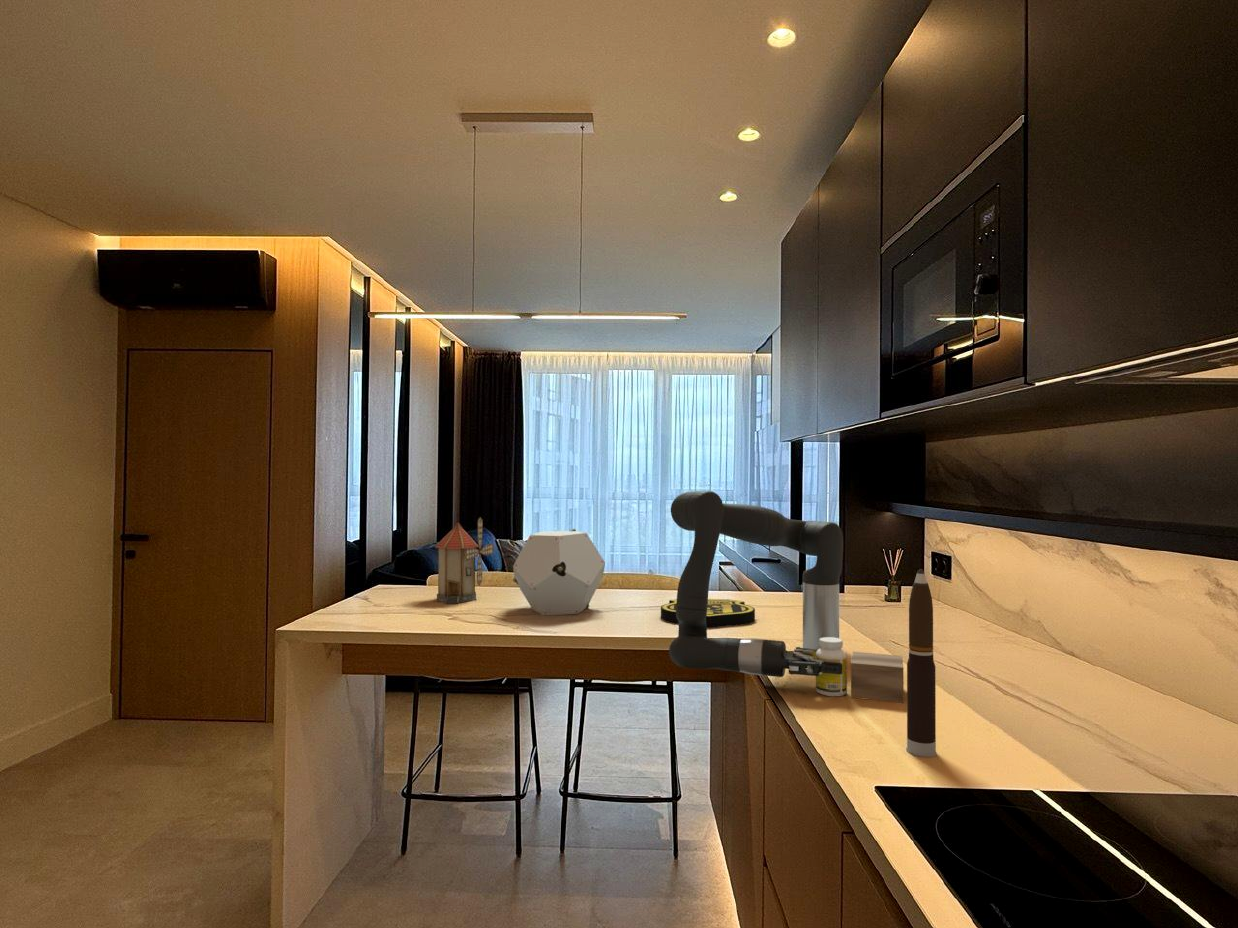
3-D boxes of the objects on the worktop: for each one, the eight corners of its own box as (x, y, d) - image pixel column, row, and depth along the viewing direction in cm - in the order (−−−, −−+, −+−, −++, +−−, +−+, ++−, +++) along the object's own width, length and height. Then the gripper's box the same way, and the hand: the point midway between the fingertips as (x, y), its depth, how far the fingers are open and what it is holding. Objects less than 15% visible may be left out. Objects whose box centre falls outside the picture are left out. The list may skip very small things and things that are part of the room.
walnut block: (852, 683, 155) (852, 651, 155) (902, 688, 151) (902, 655, 152) (850, 697, 146) (850, 662, 146) (903, 702, 142) (903, 667, 142)
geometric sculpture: (604, 627, 244) (634, 556, 232) (532, 644, 224) (560, 567, 212) (557, 574, 263) (583, 506, 251) (487, 585, 243) (511, 512, 231)
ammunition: (929, 746, 119) (929, 567, 120) (941, 757, 115) (940, 570, 115) (902, 746, 119) (901, 566, 120) (912, 756, 115) (911, 570, 115)
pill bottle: (833, 686, 153) (833, 635, 153) (853, 694, 147) (853, 641, 147) (809, 690, 150) (809, 637, 151) (829, 698, 145) (829, 643, 145)
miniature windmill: (482, 606, 244) (483, 518, 245) (425, 606, 244) (426, 518, 245) (493, 594, 269) (494, 514, 269) (441, 594, 268) (442, 514, 269)
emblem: (658, 615, 213) (662, 598, 243) (658, 627, 213) (662, 609, 243) (758, 617, 210) (750, 599, 240) (758, 630, 210) (750, 611, 240)
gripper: (756, 647, 147) (841, 654, 141) (767, 632, 161) (844, 638, 155) (756, 683, 147) (841, 692, 141) (767, 666, 161) (845, 673, 155)
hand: (842, 664), depth 148 cm, fingers closed on pill bottle, 6 cm apart
